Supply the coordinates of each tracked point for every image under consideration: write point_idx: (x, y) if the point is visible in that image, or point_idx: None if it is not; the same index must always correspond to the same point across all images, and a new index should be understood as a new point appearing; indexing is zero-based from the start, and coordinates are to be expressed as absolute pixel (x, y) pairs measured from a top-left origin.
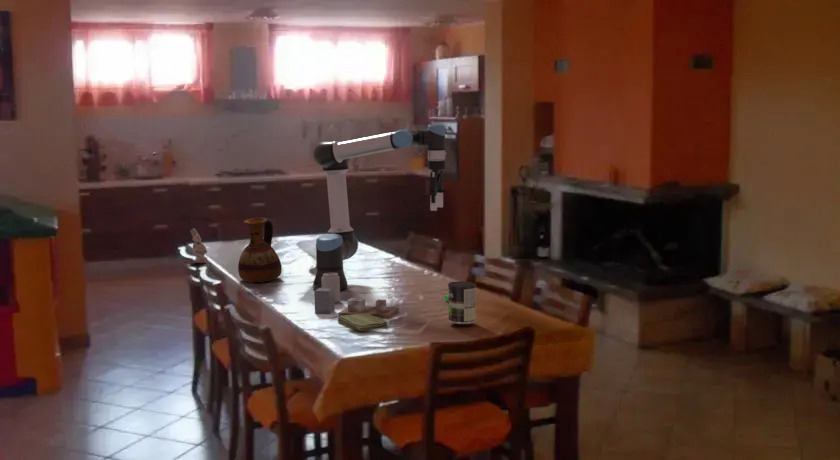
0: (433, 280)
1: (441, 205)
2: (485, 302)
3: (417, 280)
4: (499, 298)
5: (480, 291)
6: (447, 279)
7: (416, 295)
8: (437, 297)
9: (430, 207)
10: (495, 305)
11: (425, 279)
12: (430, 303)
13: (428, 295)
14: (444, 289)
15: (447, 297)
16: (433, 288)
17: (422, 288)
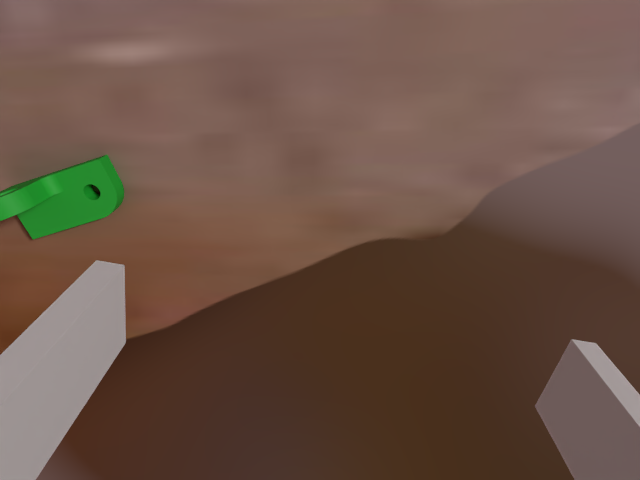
0: (535, 97)
1: (554, 415)
2: None
3: (555, 13)
4: (153, 326)
5: (270, 277)
6: (545, 161)
7: (170, 27)
8: (139, 124)
9: (71, 288)
10: (40, 311)
11: (573, 56)
12: (13, 98)
13: (176, 84)
14: (311, 150)
15: (70, 168)
16: (335, 102)
17: (337, 50)
